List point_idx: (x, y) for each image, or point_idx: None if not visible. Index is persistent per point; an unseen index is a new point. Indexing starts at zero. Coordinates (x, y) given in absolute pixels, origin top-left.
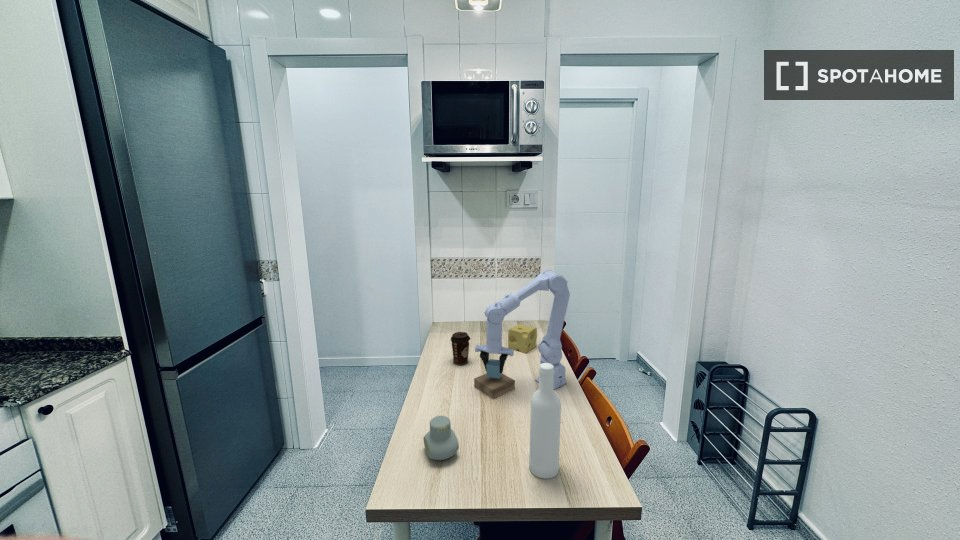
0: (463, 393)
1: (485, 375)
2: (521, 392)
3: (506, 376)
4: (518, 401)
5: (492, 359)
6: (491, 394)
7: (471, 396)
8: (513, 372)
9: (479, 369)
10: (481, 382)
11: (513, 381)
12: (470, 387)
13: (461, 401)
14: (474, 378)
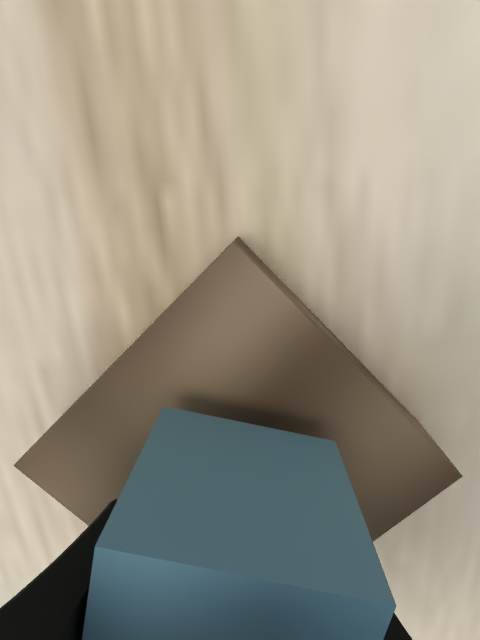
0: (2, 508)
1: (123, 395)
2: (472, 469)
3: (372, 402)
4: (430, 581)
5: (156, 574)
6: None
7: (73, 541)
8: (441, 78)
9: (26, 39)
10: None
11: (442, 485)
12: (31, 424)
13: None
14: (17, 466)
